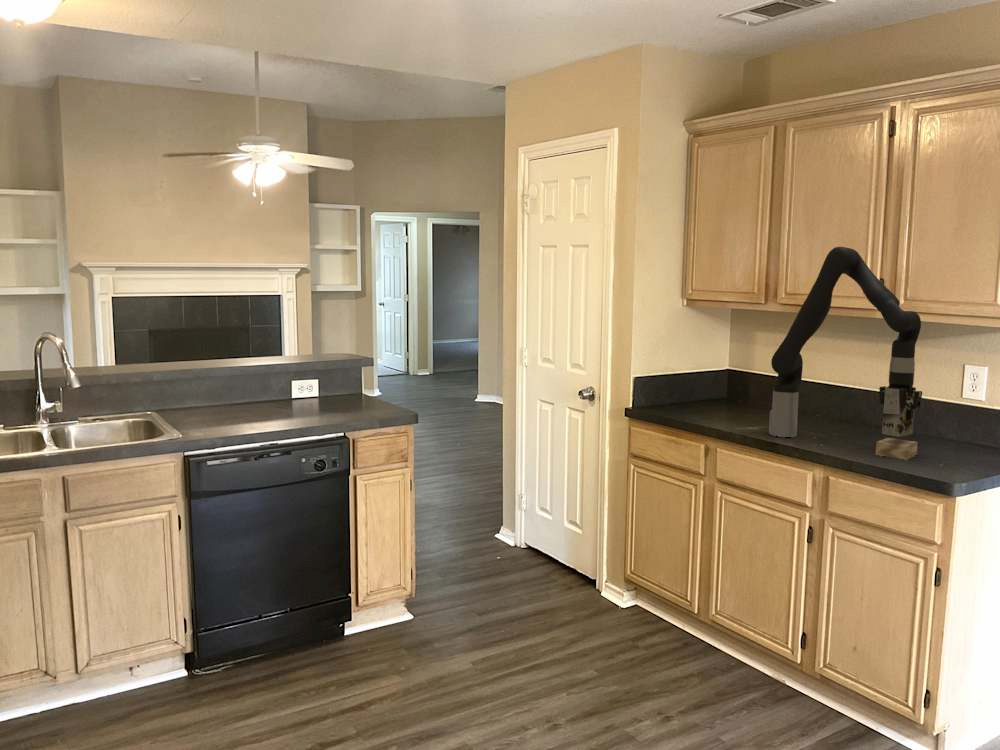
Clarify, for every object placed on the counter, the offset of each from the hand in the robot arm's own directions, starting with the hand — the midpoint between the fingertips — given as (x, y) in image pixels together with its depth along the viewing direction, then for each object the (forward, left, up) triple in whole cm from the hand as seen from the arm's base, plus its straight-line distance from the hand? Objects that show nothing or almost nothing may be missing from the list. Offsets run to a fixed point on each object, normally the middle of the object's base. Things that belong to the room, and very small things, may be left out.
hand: (898, 418), depth 267 cm
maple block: (0, 0, -13) cm, 13 cm away
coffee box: (0, 0, -5) cm, 5 cm away
